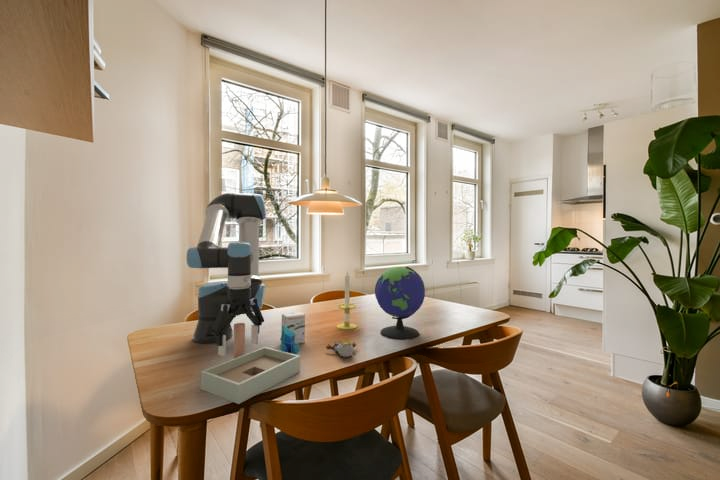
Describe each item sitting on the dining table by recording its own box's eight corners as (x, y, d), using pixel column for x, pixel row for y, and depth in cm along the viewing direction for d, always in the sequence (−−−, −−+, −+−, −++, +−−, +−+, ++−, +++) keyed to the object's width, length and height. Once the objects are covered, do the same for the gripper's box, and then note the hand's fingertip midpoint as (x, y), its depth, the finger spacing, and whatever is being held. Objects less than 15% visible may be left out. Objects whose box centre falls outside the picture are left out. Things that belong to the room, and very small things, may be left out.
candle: (357, 329, 152) (357, 271, 151) (335, 329, 152) (335, 271, 151) (357, 323, 161) (357, 269, 161) (337, 323, 162) (337, 269, 161)
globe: (385, 324, 161) (385, 263, 160) (430, 330, 151) (430, 265, 151) (366, 337, 141) (366, 267, 140) (416, 344, 131) (417, 270, 131)
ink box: (285, 346, 128) (285, 316, 128) (280, 342, 133) (281, 313, 132) (305, 342, 133) (305, 313, 133) (300, 339, 137) (300, 311, 137)
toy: (351, 335, 132) (363, 342, 117) (352, 348, 131) (364, 357, 117) (322, 337, 128) (331, 344, 114) (322, 351, 127) (331, 360, 113)
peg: (231, 362, 112) (231, 324, 112) (240, 359, 115) (240, 322, 115) (238, 364, 110) (238, 326, 110) (247, 361, 113) (247, 323, 113)
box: (200, 389, 92) (200, 371, 92) (264, 361, 113) (264, 346, 113) (238, 404, 84) (238, 384, 84) (300, 371, 105) (300, 355, 105)
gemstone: (276, 364, 111) (276, 328, 111) (281, 354, 119) (281, 322, 119) (298, 363, 111) (298, 328, 111) (301, 354, 120) (302, 321, 120)
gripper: (213, 293, 99) (213, 363, 100) (274, 283, 121) (273, 340, 121) (198, 291, 103) (198, 358, 103) (259, 282, 125) (259, 337, 125)
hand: (239, 349), depth 112 cm, fingers open, 13 cm apart
